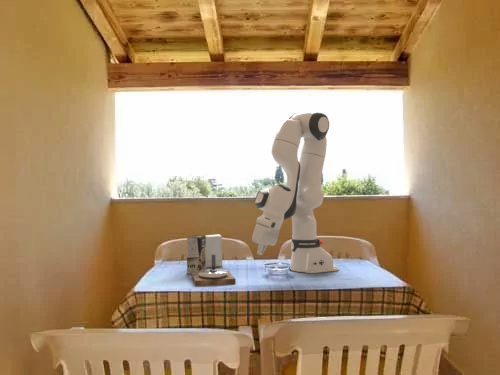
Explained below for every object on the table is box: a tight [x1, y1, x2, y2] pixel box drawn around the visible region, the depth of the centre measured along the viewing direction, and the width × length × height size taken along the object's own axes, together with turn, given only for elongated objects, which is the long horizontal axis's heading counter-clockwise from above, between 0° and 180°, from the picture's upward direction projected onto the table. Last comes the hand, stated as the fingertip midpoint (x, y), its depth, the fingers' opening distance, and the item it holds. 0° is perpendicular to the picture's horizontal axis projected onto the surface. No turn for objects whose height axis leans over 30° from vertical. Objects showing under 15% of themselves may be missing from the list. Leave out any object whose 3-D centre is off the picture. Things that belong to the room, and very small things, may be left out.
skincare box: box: [203, 233, 223, 268], centre depth 216 cm, size 8×6×15 cm
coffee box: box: [186, 234, 207, 275], centre depth 202 cm, size 9×6×16 cm
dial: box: [199, 254, 229, 279], centre depth 185 cm, size 12×12×8 cm
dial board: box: [191, 270, 237, 287], centre depth 186 cm, size 16×15×2 cm
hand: (259, 254), depth 184 cm, fingers closed
